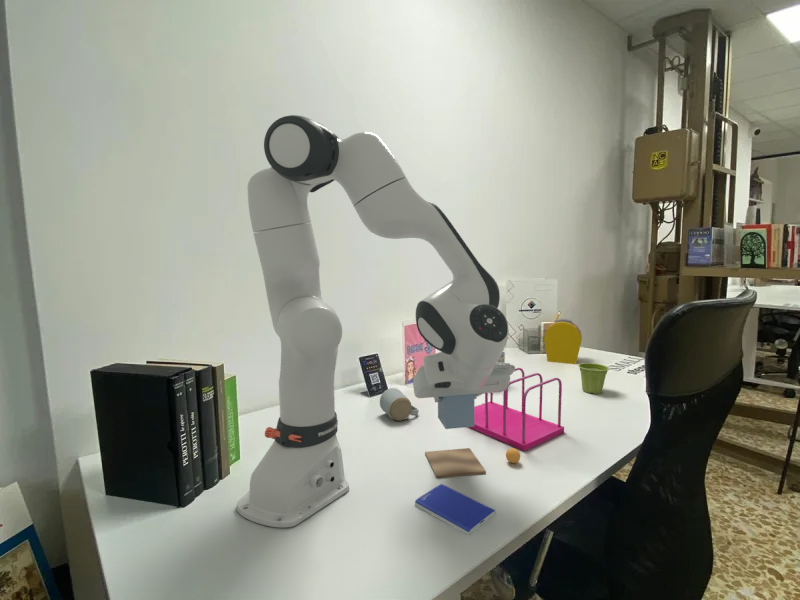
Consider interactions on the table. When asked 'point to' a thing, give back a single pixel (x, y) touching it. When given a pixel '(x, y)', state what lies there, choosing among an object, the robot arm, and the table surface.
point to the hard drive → (455, 508)
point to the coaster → (454, 463)
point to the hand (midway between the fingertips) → (454, 397)
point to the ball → (513, 455)
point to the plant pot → (593, 377)
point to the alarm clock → (562, 341)
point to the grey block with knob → (456, 411)
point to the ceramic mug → (397, 404)
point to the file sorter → (517, 419)
